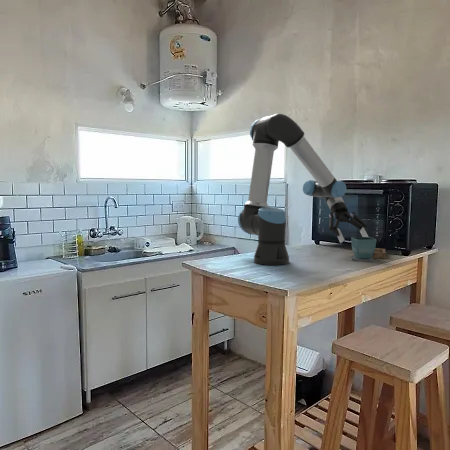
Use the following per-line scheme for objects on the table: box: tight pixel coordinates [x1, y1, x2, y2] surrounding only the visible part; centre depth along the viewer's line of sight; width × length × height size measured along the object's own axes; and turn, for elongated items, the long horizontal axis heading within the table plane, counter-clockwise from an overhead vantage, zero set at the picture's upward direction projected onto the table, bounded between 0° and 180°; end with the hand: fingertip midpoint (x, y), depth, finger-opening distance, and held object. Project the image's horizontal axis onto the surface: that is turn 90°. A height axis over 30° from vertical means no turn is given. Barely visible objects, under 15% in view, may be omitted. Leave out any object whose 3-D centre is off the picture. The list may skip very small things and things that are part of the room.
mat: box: [351, 255, 374, 263], centre depth 183 cm, size 9×9×1 cm
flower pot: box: [350, 236, 377, 259], centre depth 182 cm, size 9×9×9 cm
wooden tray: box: [372, 247, 387, 260], centre depth 192 cm, size 13×13×2 cm
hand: (355, 240), depth 188 cm, fingers open, 13 cm apart
